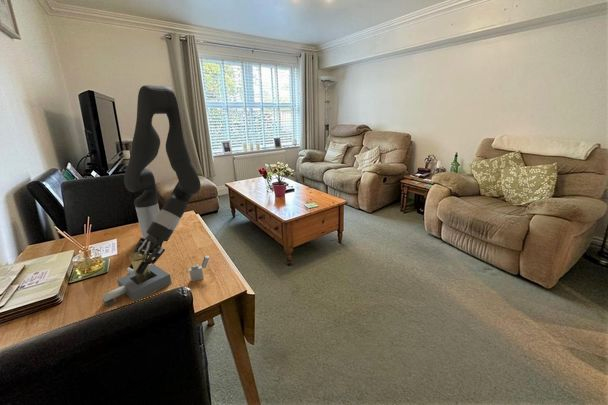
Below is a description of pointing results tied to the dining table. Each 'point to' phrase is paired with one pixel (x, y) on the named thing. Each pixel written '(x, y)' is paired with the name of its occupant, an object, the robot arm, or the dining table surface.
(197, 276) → the lighter
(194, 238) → the dining table surface
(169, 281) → the shaft housing
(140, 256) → the gold cylindrical piece
